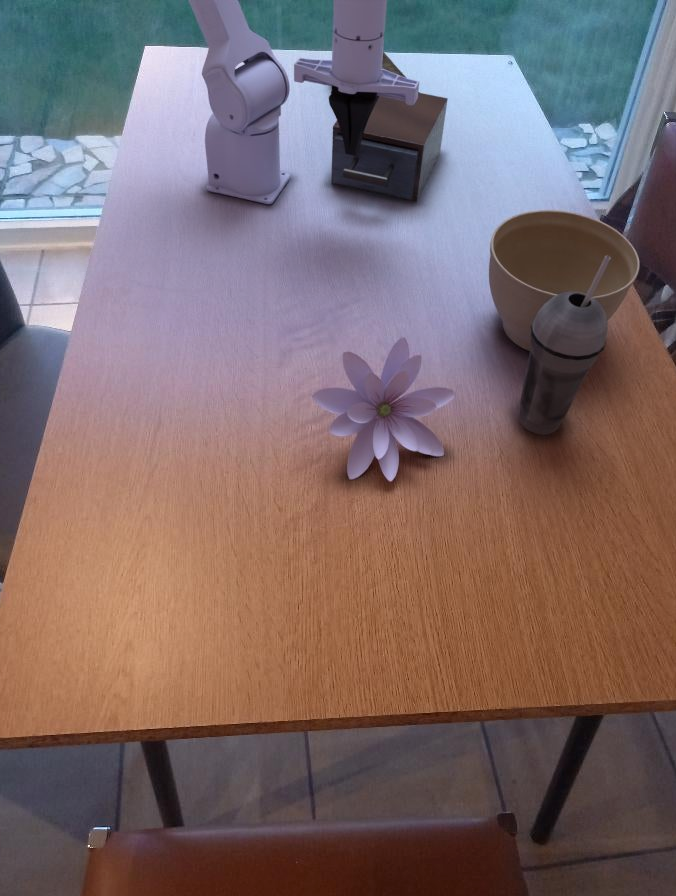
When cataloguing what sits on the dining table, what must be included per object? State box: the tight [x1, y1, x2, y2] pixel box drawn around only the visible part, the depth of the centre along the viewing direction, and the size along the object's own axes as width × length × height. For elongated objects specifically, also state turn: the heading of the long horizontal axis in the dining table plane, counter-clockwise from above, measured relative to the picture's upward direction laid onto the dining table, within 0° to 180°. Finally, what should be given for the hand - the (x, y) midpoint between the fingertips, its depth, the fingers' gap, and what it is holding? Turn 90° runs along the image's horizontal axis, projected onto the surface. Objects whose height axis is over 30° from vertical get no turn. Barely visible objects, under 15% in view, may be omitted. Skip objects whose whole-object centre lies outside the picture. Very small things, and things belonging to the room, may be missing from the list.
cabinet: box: [330, 92, 448, 203], centre depth 110 cm, size 15×13×8 cm
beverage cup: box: [518, 256, 610, 435], centre depth 75 cm, size 7×7×20 cm
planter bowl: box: [488, 209, 640, 352], centre depth 88 cm, size 16×16×11 cm
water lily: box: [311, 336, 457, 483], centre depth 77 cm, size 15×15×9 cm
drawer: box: [333, 134, 419, 199], centre depth 107 cm, size 18×11×6 cm, turn 164°
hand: (352, 151), depth 96 cm, fingers closed
